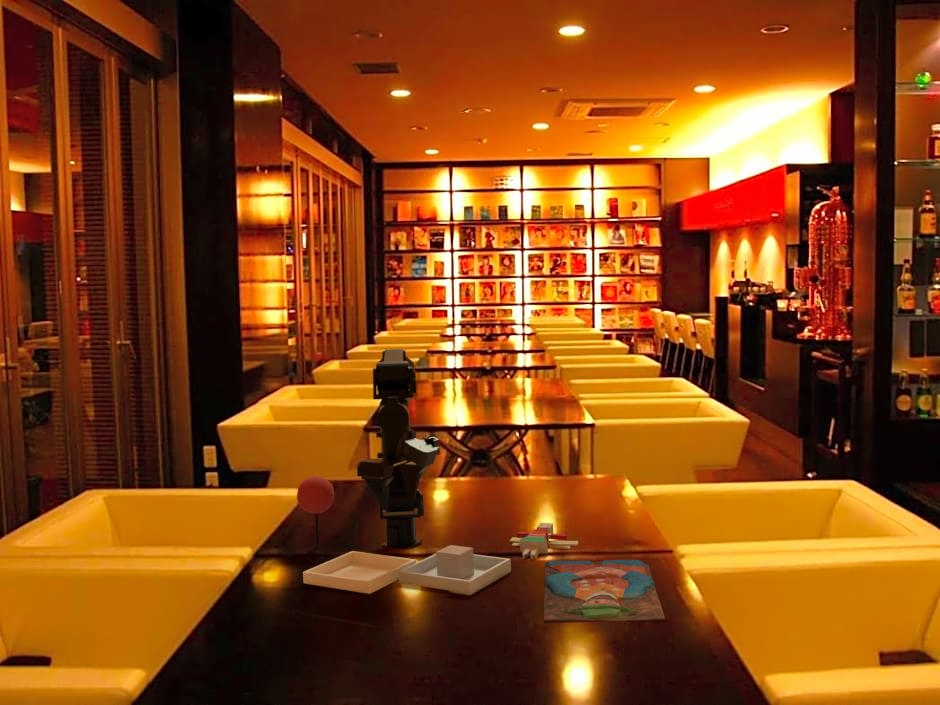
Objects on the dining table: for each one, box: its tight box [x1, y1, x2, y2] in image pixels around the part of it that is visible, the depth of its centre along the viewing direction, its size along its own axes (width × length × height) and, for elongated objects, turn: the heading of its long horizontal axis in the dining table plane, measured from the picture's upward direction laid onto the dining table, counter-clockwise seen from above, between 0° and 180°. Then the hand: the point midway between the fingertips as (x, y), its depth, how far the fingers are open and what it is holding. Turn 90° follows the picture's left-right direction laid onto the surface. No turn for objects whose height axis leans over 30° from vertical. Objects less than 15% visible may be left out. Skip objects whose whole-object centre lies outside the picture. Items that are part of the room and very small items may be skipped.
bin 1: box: [302, 550, 417, 595], centre depth 192 cm, size 15×15×2 cm
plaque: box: [543, 559, 666, 623], centre depth 179 cm, size 20×2×30 cm
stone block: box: [435, 544, 474, 580], centre depth 190 cm, size 5×5×5 cm
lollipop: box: [296, 476, 335, 548], centre depth 215 cm, size 8×8×15 cm
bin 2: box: [398, 553, 512, 596], centre depth 190 cm, size 15×15×2 cm
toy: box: [509, 522, 579, 561], centre depth 208 cm, size 15×4×15 cm
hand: (398, 504), depth 199 cm, fingers open, 9 cm apart
